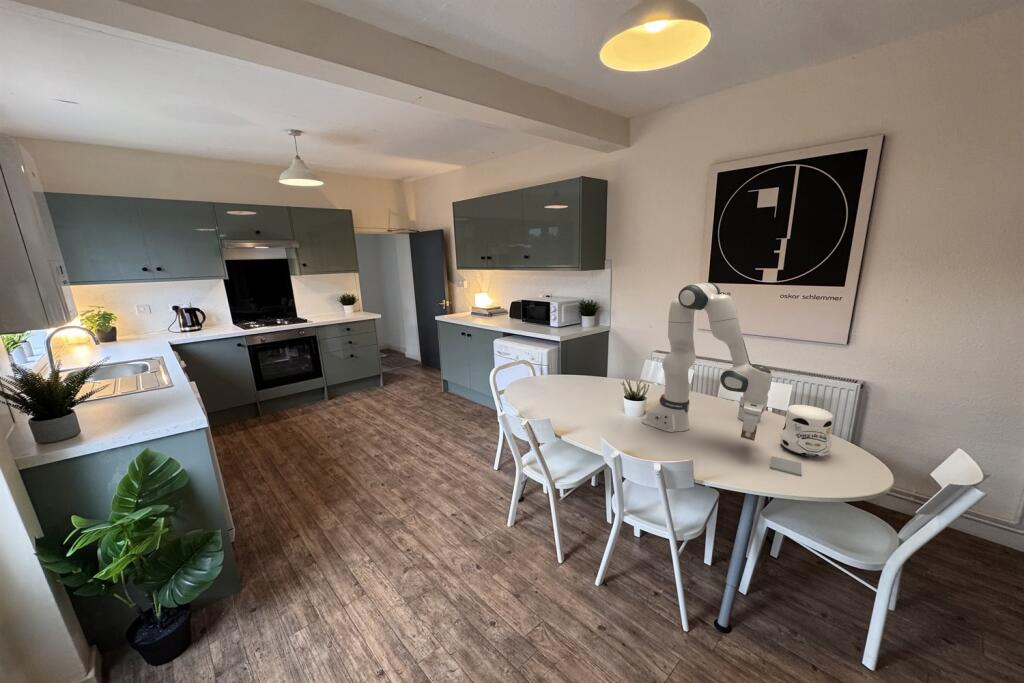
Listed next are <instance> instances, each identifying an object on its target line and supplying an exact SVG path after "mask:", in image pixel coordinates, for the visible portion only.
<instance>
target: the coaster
mask: <svg viewBox="0 0 1024 683" xmlns="http://www.w3.org/2000/svg"><path fill="white" fill-rule="evenodd" d="M769 469H770V470H774V471H779V472H783V473H785V474H786V473H787V474H790V475H794V476H798V477H802V475H803V474H802V463H801V462H798V461H794V460H791V459H786V458H783V457H778V456H773V455H771V456H770V465H769Z"/></svg>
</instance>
